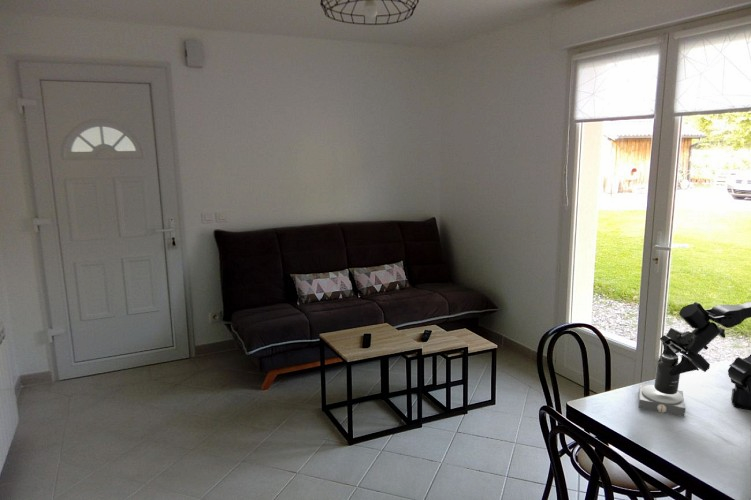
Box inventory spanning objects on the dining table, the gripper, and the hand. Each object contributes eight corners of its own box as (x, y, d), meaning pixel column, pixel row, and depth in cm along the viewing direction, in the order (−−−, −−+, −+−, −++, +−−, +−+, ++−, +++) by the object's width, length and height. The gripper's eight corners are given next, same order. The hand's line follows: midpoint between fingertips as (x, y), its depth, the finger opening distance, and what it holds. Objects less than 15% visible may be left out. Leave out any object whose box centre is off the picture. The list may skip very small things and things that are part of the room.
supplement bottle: (676, 397, 167) (681, 362, 164) (652, 391, 171) (656, 357, 168) (678, 388, 172) (682, 354, 170) (655, 383, 176) (659, 350, 174)
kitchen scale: (681, 399, 178) (682, 389, 177) (684, 417, 166) (685, 406, 165) (639, 391, 184) (640, 381, 183) (639, 408, 172) (640, 398, 171)
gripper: (667, 311, 176) (633, 343, 178) (704, 331, 158) (665, 366, 159) (688, 333, 178) (653, 364, 180) (726, 354, 160) (688, 389, 161)
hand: (664, 370), depth 170 cm, fingers closed on supplement bottle, 7 cm apart
